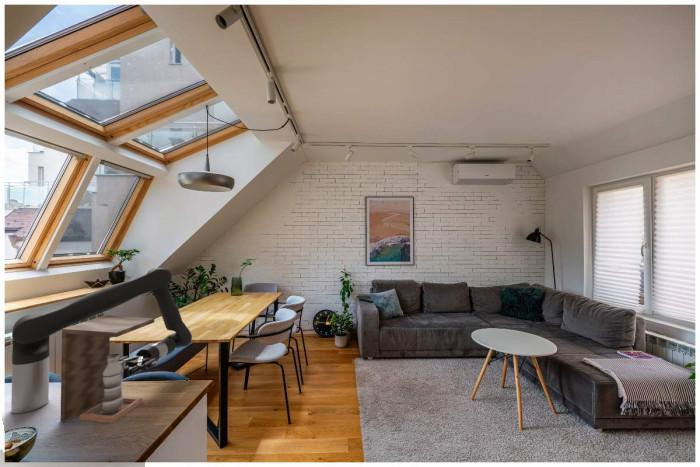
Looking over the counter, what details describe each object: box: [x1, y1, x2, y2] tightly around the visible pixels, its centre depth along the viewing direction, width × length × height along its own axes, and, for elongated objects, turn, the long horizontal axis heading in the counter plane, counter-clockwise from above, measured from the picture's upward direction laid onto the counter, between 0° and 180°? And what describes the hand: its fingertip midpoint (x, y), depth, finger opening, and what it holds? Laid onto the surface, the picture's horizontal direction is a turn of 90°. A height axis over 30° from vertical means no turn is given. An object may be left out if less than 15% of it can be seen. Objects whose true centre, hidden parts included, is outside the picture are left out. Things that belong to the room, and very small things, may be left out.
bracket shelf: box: [60, 315, 155, 423], centre depth 106 cm, size 16×20×32 cm
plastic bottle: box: [99, 353, 125, 415], centre depth 105 cm, size 6×7×20 cm
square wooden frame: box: [79, 395, 143, 424], centre depth 106 cm, size 12×12×2 cm
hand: (117, 372), depth 107 cm, fingers open, 8 cm apart
